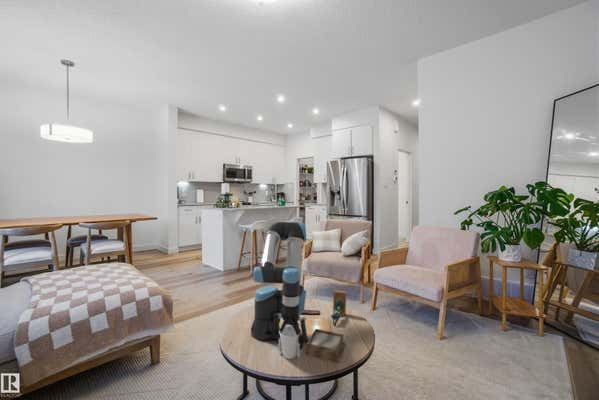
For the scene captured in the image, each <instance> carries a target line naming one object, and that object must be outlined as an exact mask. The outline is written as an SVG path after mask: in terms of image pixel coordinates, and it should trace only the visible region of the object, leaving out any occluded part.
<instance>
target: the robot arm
mask: <svg viewBox="0 0 599 400" xmlns="http://www.w3.org/2000/svg"><path fill="white" fill-rule="evenodd" d="M263 237H264V238H263V239H264V244H263V247H262V248H263V249H262V253H261V259H260V262H259V263H260V264H259V266H255V267H254V269H253V274H252V275H253V277H252V278H253V282H254V283H256V284H257V283H260V284H282V286H281V289H278V287H277V286H276V285H265V286H261V287H259V288H258V289H256V291H255V293H254V319H253V322H252V324H251V327H250V335H251V337H252V338H254V339H255V340H258V341H270V340H273V339H276V344H277V345H278V354H280V353H281V352H282V345H281V338H280V333H282V332H283V330H284V328H285V326H293V328H294V329H295V332H296V335H299V334H300V333H301V334H300V335H299V337H298V340H299V341H298V347H297V355H296V357H297V358H298V359H299V358H300V357H301V355H302V350H303V348H304V343H306V342H307V341H308V333H307V327H306V317H301V316H300V315H302V314H303V313H304V312H305V304H306V298H307V297H306V296H307V290H305V289H304V287H305V286H303V284H302V246H303V245H304V243H305V242H306V241H307V229H306V224H305V223H304V222H300V221H277V222H275V223H273V224H271V225H270V226H269V227H268V228H267V230H266V231H265V233H264V236H263ZM281 241H284V244H285V245H286V255H285V257H286V258H285V259H286V260H285V266H276V260H277V252H278V246H279V243H280V242H281ZM281 319H282V320H283V321H282V324H281V325H280V323H281ZM298 321H299V322H298ZM299 324H300V326H299ZM279 330H280V333H279ZM300 330H301V331H300Z"/></svg>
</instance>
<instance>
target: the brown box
mask: <svg viewBox="0 0 599 400" xmlns="http://www.w3.org/2000/svg"><path fill="white" fill-rule="evenodd" d="M306 342H307V343H306V348H305V349H304V354H303V355H306V356H309V357H314V358H317V359H322V360H326V361H330V362H334V363H338V364H340V363H341V359H342V356H343V353H344V350H345V347H346V342H345V341H344V334H343V333H337V332H333V331H328V330H323V329H319V328H315V329H314V330H313V333H312V334H311V336H310V337H309V338H308V340H307V341H306Z"/></svg>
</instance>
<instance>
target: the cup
mask: <svg viewBox="0 0 599 400" xmlns="http://www.w3.org/2000/svg"><path fill="white" fill-rule="evenodd" d="M300 331H301V329H300ZM279 333H280V330H279ZM301 333H302V331H301ZM301 333H300V334H301ZM300 334H299V335H300ZM299 335H296V332H295V329H294V328H293V326H291V325H286V326H285V328H284V330H283V332H282V333H280V338H281V345H282V351H281V352H282V356H283V357H284V358H285V359H287V360H288V359H289V360H291V359H295V358H296V357H297V347H298V341H299V340H298V337H299Z"/></svg>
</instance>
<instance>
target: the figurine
mask: <svg viewBox="0 0 599 400" xmlns="http://www.w3.org/2000/svg"><path fill="white" fill-rule="evenodd" d="M332 306H333V309H332V310H333V311H332V314H331V316H330V317H331V319H332V324H333V326H336V324H337V322H338V320H339V317H340V316H344V317H345V316H346V314H347V291H346V290H345V291H344V290H337V289H335V290H333V305H332Z"/></svg>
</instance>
